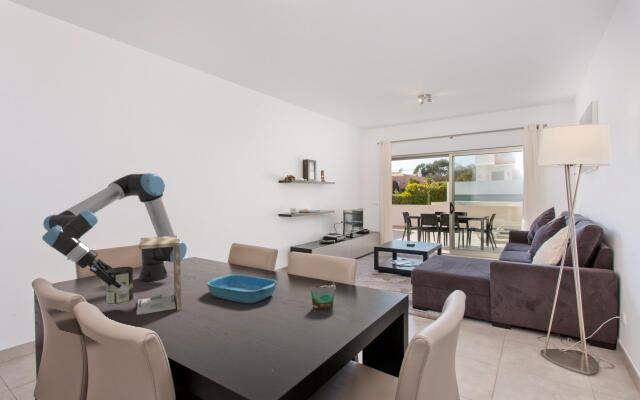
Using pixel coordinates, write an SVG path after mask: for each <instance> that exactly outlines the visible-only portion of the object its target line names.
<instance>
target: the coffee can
mask: <svg viewBox="0 0 640 400" xmlns="http://www.w3.org/2000/svg"><path fill="white" fill-rule="evenodd" d="M133 270H134V268H133V267H131V266H119V267H112V269H108V270H106V271H107V272H108V273H109V274H110V275H111V276H112V277H113V278H114V279H115V280H116V279H117V280H118V281H120V282H121V283H123V284H124V285H125V286H127V287H128V288H130V289H129V290H128V291H127V292H126V293H125V294H123V293H122V292H121V291H119V290H118V289H116V288H115V287H113V286H112V285H110V286H108V284H107V283H106V282H105V299H106V300H105V302H106V303H105V305H106V306H112V307H113V306H122V305H125V304H129V303H131V302H133V301H134V282H133V281H134V277H133V276H134V275H133V272H134V271H133Z"/></svg>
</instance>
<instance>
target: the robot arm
mask: <svg viewBox="0 0 640 400" xmlns="http://www.w3.org/2000/svg"><path fill="white" fill-rule="evenodd" d="M165 185H166V183H165V181H164V180H163V178H162V176H160V175H158V174H157V173H150V172H149V173H131V174H126V175H124V176H122V177H120V178H118V179H116V180H114V181H112V182H110V183H109V184H108V185H107V187H106V188H103V189H101V190H100V191H99V192H98V191H97V193H95V194H92V195H91V196H90V197H87V198H85V199H84V200H82V201H80V202H79V203H76V204H74V205H73V206H71V207H70V208H68V209H65V210H64V211H62V212H60V213H58V214H52V215H51V214H50V215H48V216H46V217H45V218H44V220H43V223H42V225H43V227H44V229H45V230H46V231H47V232H45V233H44V234H43V235H42V238H41V239H42V241H44V242H45V243H46V244H47V245H49V247H51V248H52V249H54V250H56V251H57V252H59V253H60V254H62V255H63V256H65V257H66V259H67V261H69V260H70V261H72V262H73V263H76V265H77V266H78V267H80V268H81V269H85V268H86V267H89V269H88V270H89V271H90V272H92V273H93V274H94V275H96V276H97V277H98V278H99V279H100V280H102V281H103V282H104V283H105V284H106V283H107V284H108V286H110V285H112V286H113V287H115V288H116V289H118V290H119V291H121V292H122V293H123V294H125V293H126V292H127V291H128V290H129V289H130V288H128V287H127V286H125V285H124V284H123V283H121V282H120V281H118V280H117V279H116V280H115V279H114V278H113V277H112V276H111V275H110V274H109V273H108V272H107V271H106V270H108V269H112V268H113V267H112V266H111V265H109V264H107V263H106V262H104V261H103V260H102V259H100V258H98V259H96V258H97V257H98V256H99V254H98V252H96V251H95V250H93V249H90V247H89V246H88V245H87V244H85V243H84V242H82V241H81V240H79V239H80V238H81V237H83V236H84V235H85V234H86V233H88V232H89V231H90V230H91V229H93V228H94V227H95V226H96V225H97V224H98V217H97V216H96V215H95V214H96V213H97V212H99V211H101V210H102V209H104V208H105V207H107V206H110V205H111V204H112V203H114V202H115V201H119V200H120V201H121V200H123V199H124V198H128V197H132V196H135V197H136V196H138V199H139V202H140V203H143V204H144V206H145V209H146V211H147V214H148V216H149V219H150V221H151V224H152V227H153V229H154V231H155V234H156V237H165V236H177V238H178V240H179V242H180V262H182V261H183V260H184V259H185V256H186V254H187V251H188V250H187V244H186V243H185V242H183V241H180V238H179V236H178V235H176V234H175V233H174V230H173V227H172V224H171V221H170V218H169V215H168V213H167V210H166V208H165V205H164V202H163V199H162V198H163V196H164V192H165V187H166V186H165ZM140 250H141V268H140V272H139V276H138V280H139V281H141V282H152V281H160V280H164V279H166V278H168V271H167V267H166V266H165V262H168V263H169V262H170V263H174V258H173V247H161V248H148V249H140Z"/></svg>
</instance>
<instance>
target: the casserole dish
mask: <svg viewBox="0 0 640 400" xmlns="http://www.w3.org/2000/svg"><path fill="white" fill-rule="evenodd" d="M277 282H278V281H277V280H275V279H272V278H265V277H260V276H254V275H246V274H239V273H238V274H229V275H228V274H227V275H223V276H219V277H218V276H217V277H215V278H211V280H209V281H207V282H206V286H207V288H208V291H209V292H210V294H211V295H212V296H213V297H215V298H219V299H223V300H228V301H233V302H236V303H237V302H238V303H243V304H255V303H259V302H260V301H263V300H265V299H267V298H269V297H271V296H272V295H273V294H274V292H275V290H276V286H277V284H278V283H277Z"/></svg>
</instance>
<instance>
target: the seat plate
mask: <svg viewBox="0 0 640 400" xmlns="http://www.w3.org/2000/svg"><path fill="white" fill-rule="evenodd" d="M136 307H137V308H136V316H139V315H145V314H150V313H151V314H152V313H158V312H163V311H169V310H176V309H177V306H176V301H175V296H174V294H170V295H164V296H163V294H156V295H150V297H148V298H141V299H138V300H137V306H136Z"/></svg>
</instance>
